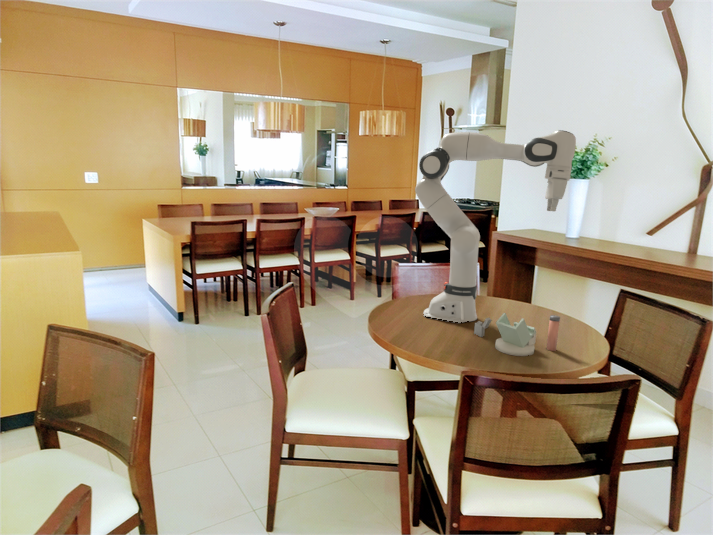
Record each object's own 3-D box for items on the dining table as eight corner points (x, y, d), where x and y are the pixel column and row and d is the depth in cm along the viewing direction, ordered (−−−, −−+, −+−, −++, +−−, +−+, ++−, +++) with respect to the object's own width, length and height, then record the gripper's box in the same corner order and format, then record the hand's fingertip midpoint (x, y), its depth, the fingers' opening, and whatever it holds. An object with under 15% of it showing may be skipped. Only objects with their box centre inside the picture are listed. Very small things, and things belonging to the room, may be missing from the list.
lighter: (473, 333, 184) (475, 313, 182) (477, 333, 184) (478, 313, 183) (486, 339, 177) (488, 318, 176) (490, 339, 178) (492, 318, 177)
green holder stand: (518, 358, 160) (522, 322, 157) (487, 346, 170) (490, 312, 167) (541, 351, 167) (545, 316, 165) (510, 340, 178) (513, 307, 175)
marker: (546, 350, 168) (550, 317, 166) (545, 347, 172) (549, 314, 169) (556, 351, 167) (560, 318, 165) (555, 348, 171) (559, 315, 168)
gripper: (545, 175, 194) (539, 209, 196) (553, 172, 174) (546, 210, 176) (561, 177, 192) (555, 211, 195) (571, 174, 173) (564, 212, 175)
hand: (550, 211), depth 185 cm, fingers open, 8 cm apart
